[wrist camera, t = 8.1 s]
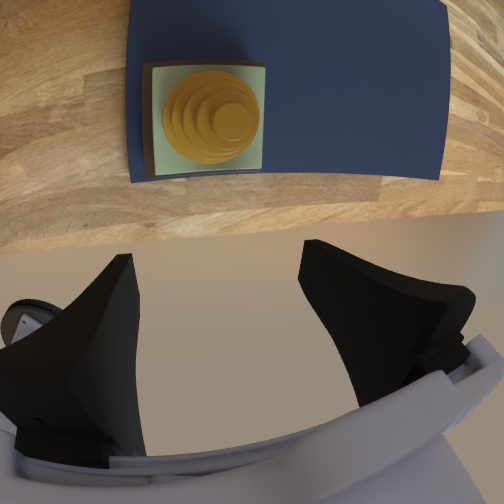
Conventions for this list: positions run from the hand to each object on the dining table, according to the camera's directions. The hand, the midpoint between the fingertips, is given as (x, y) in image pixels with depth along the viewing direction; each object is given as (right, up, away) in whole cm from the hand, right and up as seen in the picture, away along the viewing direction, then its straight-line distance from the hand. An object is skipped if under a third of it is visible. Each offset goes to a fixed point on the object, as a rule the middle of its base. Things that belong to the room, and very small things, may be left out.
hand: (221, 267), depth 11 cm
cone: (-1, +7, +1) cm, 7 cm away
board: (+8, +17, +5) cm, 19 cm away
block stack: (-2, +10, +5) cm, 11 cm away
